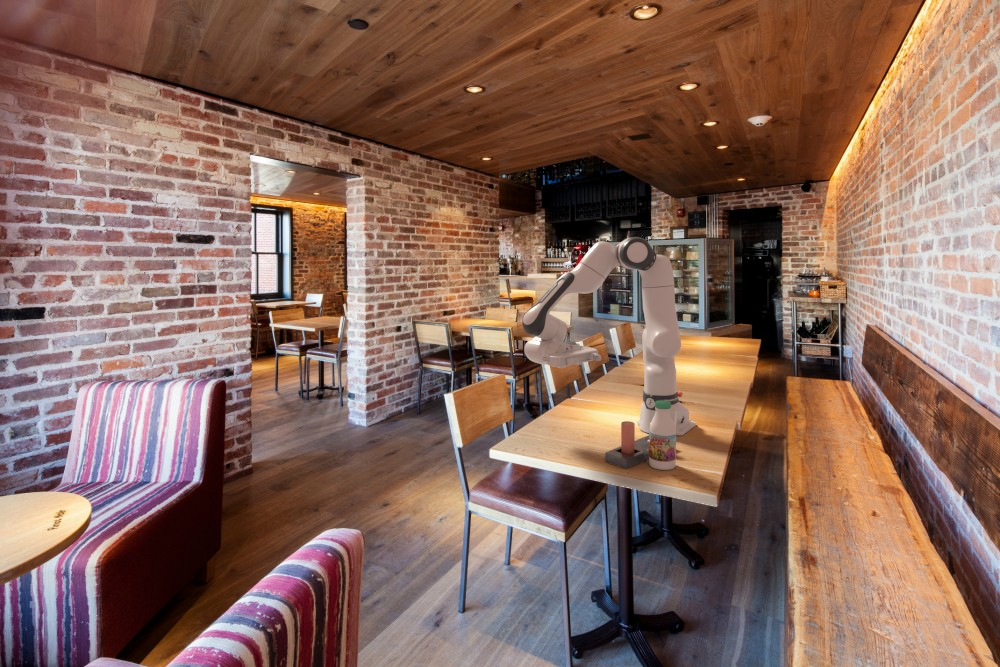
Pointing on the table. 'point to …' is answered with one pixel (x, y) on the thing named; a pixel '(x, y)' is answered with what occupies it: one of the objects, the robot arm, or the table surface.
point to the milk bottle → (662, 438)
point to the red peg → (627, 437)
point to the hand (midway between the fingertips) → (590, 360)
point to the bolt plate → (625, 460)
